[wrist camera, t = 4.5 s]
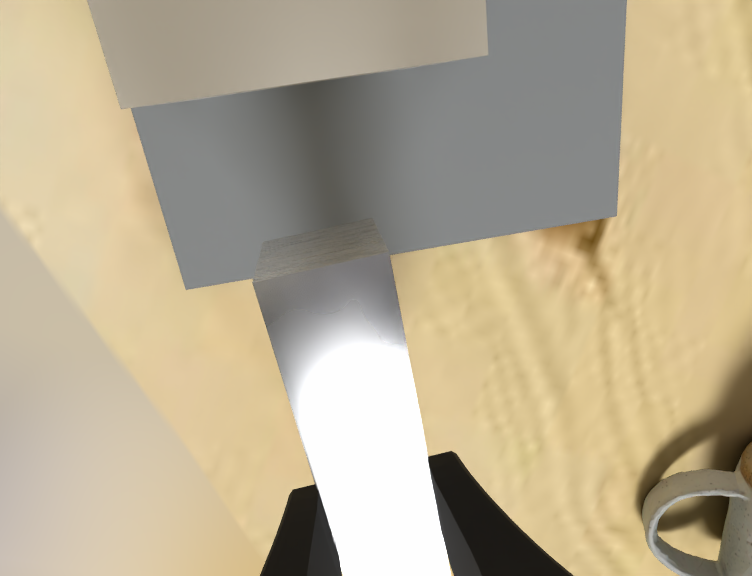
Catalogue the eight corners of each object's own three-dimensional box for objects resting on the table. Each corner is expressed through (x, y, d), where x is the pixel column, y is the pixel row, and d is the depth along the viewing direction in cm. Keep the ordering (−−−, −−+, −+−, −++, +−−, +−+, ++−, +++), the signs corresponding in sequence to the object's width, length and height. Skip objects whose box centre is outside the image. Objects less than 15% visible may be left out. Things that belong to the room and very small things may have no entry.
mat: (635, -379, 13) (644, -393, 13) (611, 213, 19) (616, 216, 19) (6, -321, 12) (-3, -334, 12) (188, 285, 18) (185, 289, 18)
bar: (372, 217, 12) (388, 251, 9) (443, 577, 16) (466, 659, 14) (262, 241, 11) (252, 282, 9) (367, 597, 16) (377, 683, 14)
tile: (409, -4, 16) (482, -68, 9) (416, 67, 16) (488, 54, 10) (178, 28, 15) (82, -14, 9) (196, 99, 16) (120, 109, 9)
